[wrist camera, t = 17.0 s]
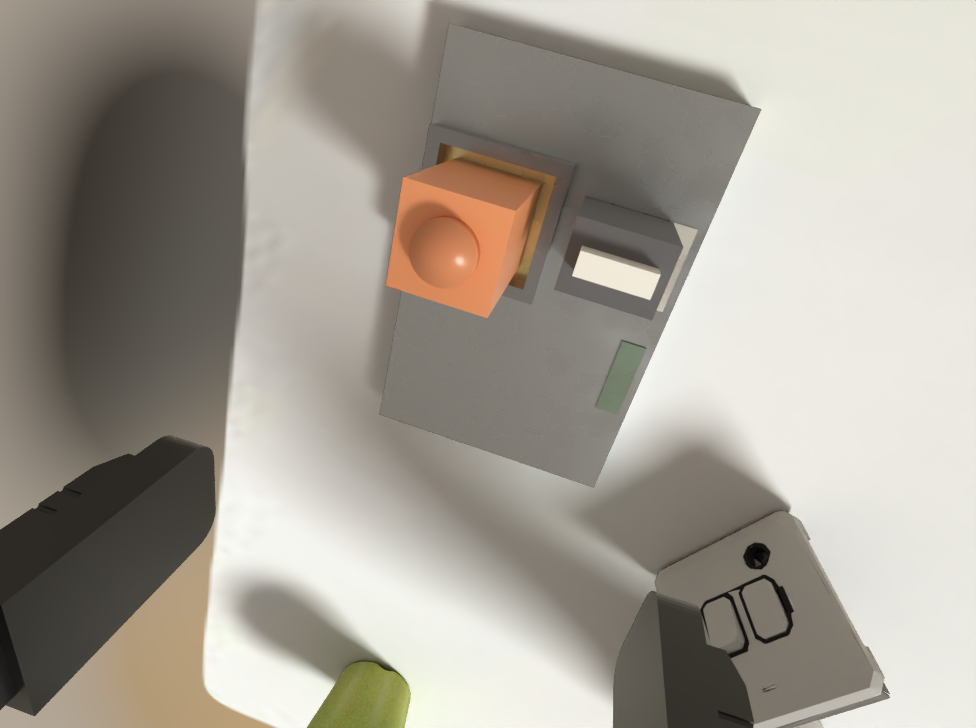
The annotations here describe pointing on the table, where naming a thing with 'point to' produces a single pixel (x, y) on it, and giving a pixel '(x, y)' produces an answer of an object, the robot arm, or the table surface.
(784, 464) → the table surface
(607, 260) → the breaker slider
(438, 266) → the cap
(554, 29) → the table surface
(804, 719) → the electrical switch
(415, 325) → the panel
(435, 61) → the table surface
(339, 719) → the plant pot
